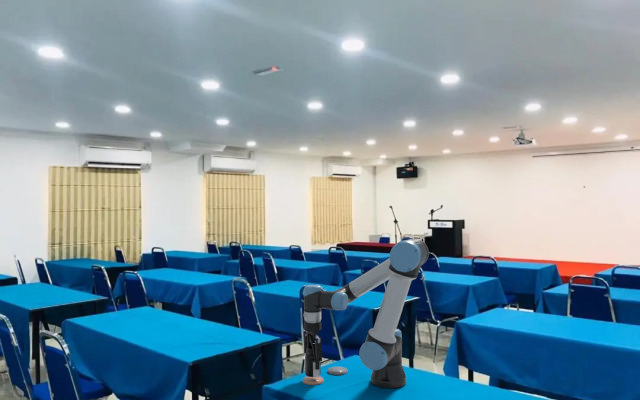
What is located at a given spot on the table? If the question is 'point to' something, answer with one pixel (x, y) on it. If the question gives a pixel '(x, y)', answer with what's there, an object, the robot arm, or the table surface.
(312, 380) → the terracotta coaster
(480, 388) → the table surface
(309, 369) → the supplement bottle
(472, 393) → the table surface
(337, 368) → the slate coaster
